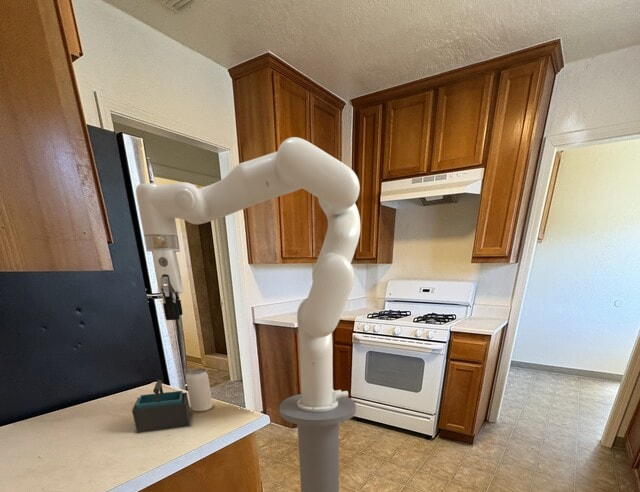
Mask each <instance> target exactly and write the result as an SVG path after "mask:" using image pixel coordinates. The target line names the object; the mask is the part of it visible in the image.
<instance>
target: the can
mask: <svg viewBox="0 0 640 492" xmlns="http://www.w3.org/2000/svg"><path fill="white" fill-rule="evenodd" d="M185 382H186V386H187V395H188V400H189V406H190V410H192V411H193V412H197V413H198V412H199V413H201V412H207V411H209V410H211V409H212V408H213V398H212V392H211V391H212V390H211V384H210V379H209V375H208V373H207V370H206V369H205V368H192V369H188V370H186V374H185Z"/></svg>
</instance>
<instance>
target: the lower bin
mask: <svg viewBox="0 0 640 492" xmlns="http://www.w3.org/2000/svg"><path fill="white" fill-rule="evenodd" d="M183 396H184V401H183V404H175V405H166V406H158V407H149V408H141V409H137V408H136V404H137V402H138V400H139V398H140V397H138V398H136V399H137V400H136V401H135V403H134V405H133V406H132V409H131V412H132V416H133V421H134V425H135V428H136V429H135V430H136V433H137V434H139V433H146V432H147V433H148V432H154V431H155V432H156V431H162V430H169V429H177V428H184V427H190V424H191V406H190V401H189V395H188V392H183Z"/></svg>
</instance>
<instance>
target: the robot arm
mask: <svg viewBox="0 0 640 492" xmlns="http://www.w3.org/2000/svg"><path fill="white" fill-rule="evenodd" d="M360 185H361V184H360V180H359V178H358V175H357V174H356V172H355V171H354V170H353V169H352V168H351V167H349V166H348V165H347V164H345V163H343V162H342V161H340V160H339V159H337V158H336V157H334V156H332V155H331V154H329V153H327V152H326V151H324V150H323V149H321V148H319V147H318V146H317V145H315V144H313V143H311V142H310V141H308V140H306V139H304V138H302V137H297V136H293V137H288V138H286V139H285V140H283V141H282V142H281V143H280V145H279V147H278V149H277V151H274V152H271V153H268V154H265V155H261V156H259V157H256V158H253V159H250V160H246V161H243V162H240V163H238V164H237V165H235V166H234V167H233V168H232V170H230V172H229V173H228V174H227V175H225V176H224V177H223V178H222V179H220V180H218V181H217V182H214V183H211V184H209V185H206V186H203V187H200V188H198V187H197V186H196V185H194V184H192V183H190V182H187V181H186V182H185V181H184V182H183V181H180V182H179V181H178V182H174V183H166V184H159V183H152V182H149V183H145V182H144V183H140V184H138V185H137V186H136V188H135V195H136V200H137V206H138V211H139V215H140V221H141V222H140V223H141V227H142V232H143V238H144V244H145V248H146V252H151V255H152V260H153V266H154V272H155V277H156V278H155V279H156V282H157V287H158V291H159V293H160V294H161V295H162V306H163V311H164V317H165V321H179V320H180V316H182V315H183V314H184V313H183V306H182V301H181V299H180V295H181V294H182V293H183V292H184V288H183V282H182V275H181V271H180V264H179V260H178V256H177V253H179V252H181V248H180V242H179V236H178V230H177V229H178V228H177V221H176V219H181V220H184V221H186V222H187V223H190V224H193V225H202V224H206V223H209V222H212V221H215V220H220V219H222V218H224V217H227V216H230V215H232V214H235V213H237V212H239V211H242V210H245V209H248V208H250V207H252V206H254V205H257V204H260V203H263V202H267V201H269V200H272V199H275V198H279V197H282V196H285V195H288V194H292V193H294V192H297V191H299V190H301V189H303V190H304V191H306V192H307V193H309V194H311V195H313V196H314V197H317V199H318V203H319V207H320V209H321V210H322V211H323V213H324V214H325V216H326V220H327V229H326V233H325V236H324V238H323V239H324V240H323V243H322V246H321V249H320V252H319V254H318V257H317V260H316V262H315V265H314V267H313V270H312V274H311V275H312V276H311V277H312V278H311V279H312V284H311V286H310V290H309V292H308V295H307V297H306V298H304V299H303V300H302V301H301V303H300V304H299V306H298V308H297V312H296V313H297V314H296V320H297V322H296V323H297V329H298V330H297V331H298V345H299V365H300V366H299V367H300V369H299V370H300V390H301V391H300V392H301V393H300V394H302V398H300V399H299V400H298V401H297V407H298V408H299V409H301V410H303V411H307V412H325V411H330V410H332V409H335V408H336V407H337V406H338V400H337V399H339V398H344V397H349V392H348V390H343V391H342V389H337V390H335V389H334V377H333V376H334V375H333V373H334V371H333V369H334V368H333V366H334V365H333V362H334V361H333V360H334V359H333V352H334V350H333V332H334V331H335V330H336V328H337V326H338V324H339V323H340V320H341V318H342V314H343V312H344V310H345V307H346V305H347V302H348V299H349V297H350V295H351V292H352V288H353V285H354V280H355V272H354V271H355V270H354V267H353V265H352V262H353V258H354V255H355V253H356V250H357V247H358V243H359V240H360V235H361V215H360V212H359V209H358V206H357V204H356V202H357V201H358V199H359V196H360V191H361V186H360Z"/></svg>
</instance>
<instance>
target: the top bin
mask: <svg viewBox="0 0 640 492" xmlns="http://www.w3.org/2000/svg"><path fill="white" fill-rule="evenodd" d="M152 391H153V393H148V394H140V395H139V397H138V398H139V400H138V402H137V404H136V408H137V409H141V408H149V407H158V406H166V405H175V404H183V401H184V396H183V393H184V392H183V391H184V390H176V391H167V392H164V389H163V381H162V380H161V379H157V380H156V382H155V385H154V388H153V390H152Z"/></svg>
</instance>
